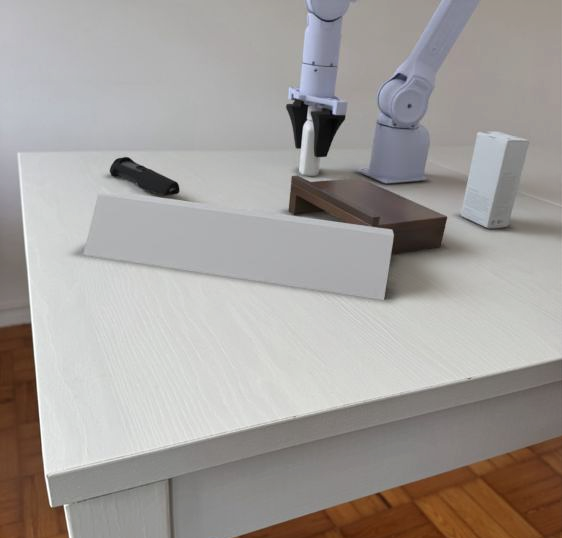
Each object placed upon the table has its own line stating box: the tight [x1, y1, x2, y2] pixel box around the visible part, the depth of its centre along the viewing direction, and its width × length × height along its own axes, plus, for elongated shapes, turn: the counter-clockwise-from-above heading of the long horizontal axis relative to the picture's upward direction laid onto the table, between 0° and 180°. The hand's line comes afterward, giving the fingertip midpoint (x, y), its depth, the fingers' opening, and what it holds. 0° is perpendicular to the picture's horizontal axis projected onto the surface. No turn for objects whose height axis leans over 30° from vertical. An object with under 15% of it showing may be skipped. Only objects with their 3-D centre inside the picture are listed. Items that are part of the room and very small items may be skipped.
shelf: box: [287, 175, 448, 255], centre depth 78 cm, size 12×18×5 cm, turn 31°
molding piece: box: [82, 191, 394, 301], centre depth 69 cm, size 32×12×10 cm
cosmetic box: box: [460, 130, 530, 229], centre depth 84 cm, size 6×4×12 cm
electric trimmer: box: [109, 156, 181, 197], centre depth 87 cm, size 4×16×3 cm, turn 42°
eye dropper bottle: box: [298, 102, 322, 177], centre depth 100 cm, size 4×6×12 cm
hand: (310, 152), depth 102 cm, fingers closed on eye dropper bottle, 5 cm apart
